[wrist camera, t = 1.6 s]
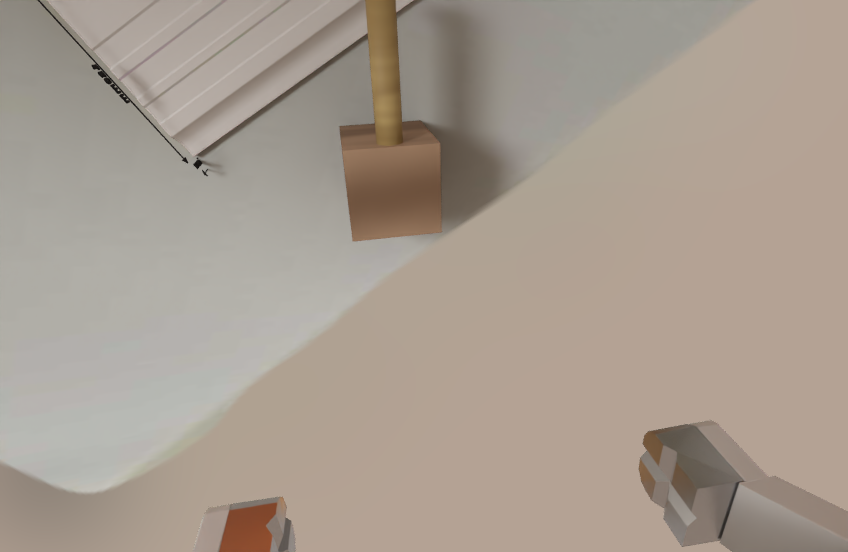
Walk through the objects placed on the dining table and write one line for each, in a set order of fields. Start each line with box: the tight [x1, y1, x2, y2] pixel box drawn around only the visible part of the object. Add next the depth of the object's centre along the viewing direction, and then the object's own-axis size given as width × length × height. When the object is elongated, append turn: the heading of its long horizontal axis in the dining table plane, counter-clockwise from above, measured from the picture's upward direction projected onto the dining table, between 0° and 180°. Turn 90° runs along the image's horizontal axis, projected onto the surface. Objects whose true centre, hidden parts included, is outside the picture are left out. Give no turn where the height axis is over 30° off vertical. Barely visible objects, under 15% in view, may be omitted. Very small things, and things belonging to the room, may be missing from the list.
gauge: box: [339, 0, 442, 241], centre depth 26 cm, size 12×5×6 cm, turn 2°
